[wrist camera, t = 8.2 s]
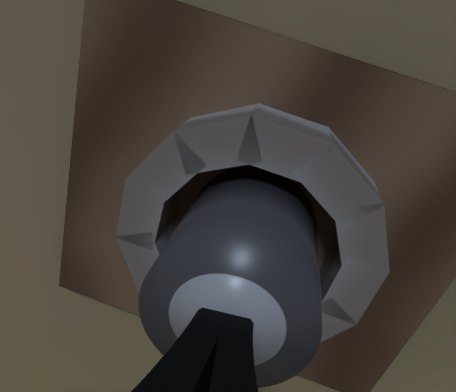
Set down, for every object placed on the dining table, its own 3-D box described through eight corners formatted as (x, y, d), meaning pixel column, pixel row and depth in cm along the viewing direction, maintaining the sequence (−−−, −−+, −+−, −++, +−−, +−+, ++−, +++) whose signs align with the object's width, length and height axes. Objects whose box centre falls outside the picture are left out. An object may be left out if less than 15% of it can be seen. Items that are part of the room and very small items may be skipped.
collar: (546, 121, 12) (616, 148, 9) (360, 381, 18) (370, 442, 16) (102, -24, 13) (49, -39, 10) (70, 273, 19) (32, 313, 16)
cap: (329, 179, 13) (344, 268, 8) (301, 286, 15) (300, 407, 10) (198, 156, 14) (138, 225, 9) (189, 262, 16) (137, 365, 11)
